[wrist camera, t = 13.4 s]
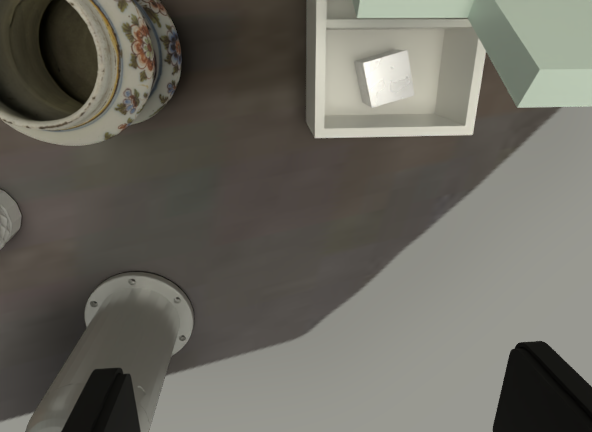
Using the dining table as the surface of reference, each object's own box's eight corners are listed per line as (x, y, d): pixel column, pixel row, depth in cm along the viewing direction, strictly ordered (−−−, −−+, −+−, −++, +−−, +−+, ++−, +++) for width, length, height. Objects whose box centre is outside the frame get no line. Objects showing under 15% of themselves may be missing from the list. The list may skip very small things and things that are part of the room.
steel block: (400, 90, 41) (414, 95, 38) (362, 102, 42) (371, 107, 38) (394, 49, 40) (407, 50, 36) (353, 61, 40) (363, 62, 36)
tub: (437, 119, 44) (472, 134, 36) (305, 122, 43) (314, 138, 36) (462, -85, 37) (512, -117, 30) (306, -87, 36) (317, -121, 29)
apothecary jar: (47, -25, 36) (-134, -83, 20) (186, -21, 37) (125, -73, 21) (73, 115, 41) (-56, 163, 24) (196, 115, 42) (152, 162, 25)
